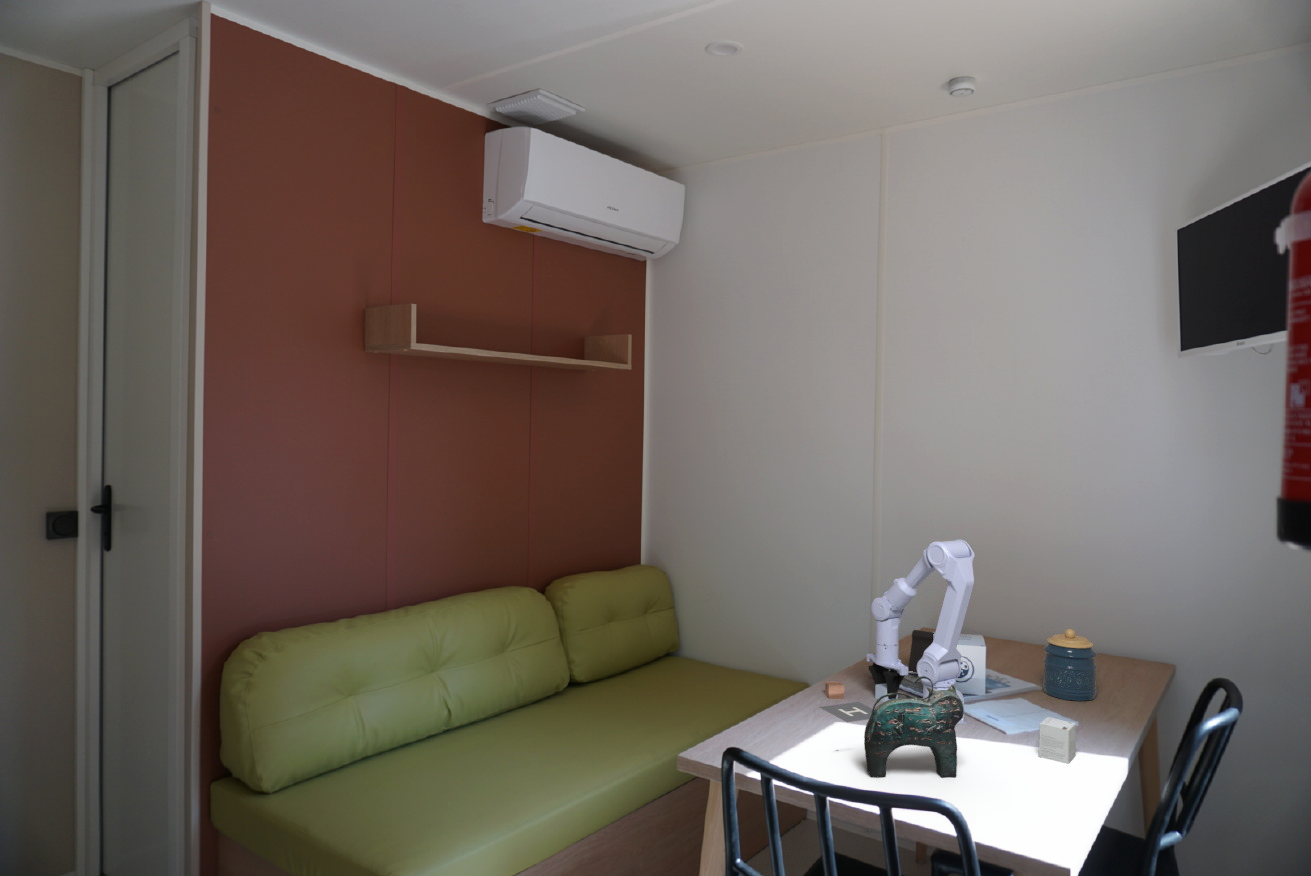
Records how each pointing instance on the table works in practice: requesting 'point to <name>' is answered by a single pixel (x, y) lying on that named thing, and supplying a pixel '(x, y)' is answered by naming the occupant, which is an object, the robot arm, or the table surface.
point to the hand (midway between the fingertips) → (886, 695)
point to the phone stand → (919, 647)
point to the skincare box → (1057, 740)
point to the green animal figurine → (914, 729)
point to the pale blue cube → (881, 692)
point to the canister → (1070, 667)
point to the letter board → (850, 711)
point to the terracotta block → (834, 690)
